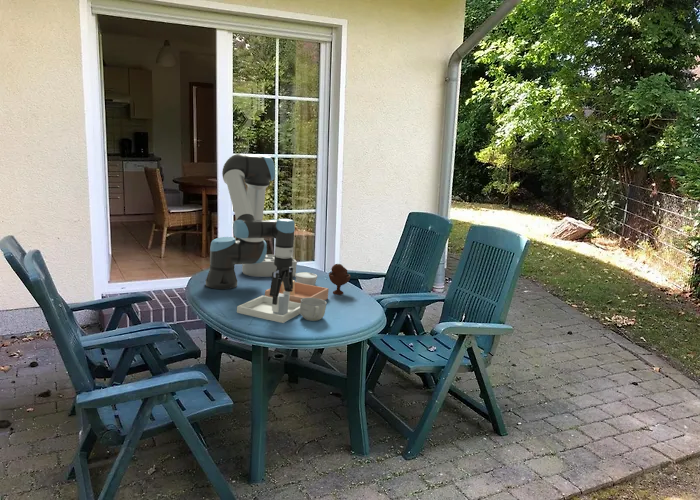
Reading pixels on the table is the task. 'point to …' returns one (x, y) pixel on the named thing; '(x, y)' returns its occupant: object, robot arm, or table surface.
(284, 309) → the pale grey box block
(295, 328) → the table surface
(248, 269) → the grey compartment organizer
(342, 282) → the ice cream bowl
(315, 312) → the teacup
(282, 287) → the tall cardboard carton
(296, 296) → the orange square tray
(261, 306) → the parts tray
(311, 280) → the ramekin
